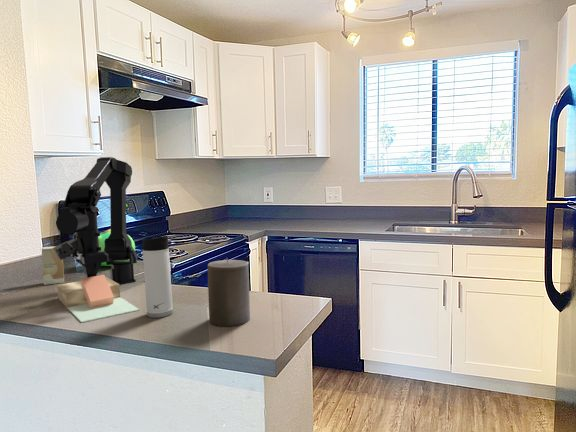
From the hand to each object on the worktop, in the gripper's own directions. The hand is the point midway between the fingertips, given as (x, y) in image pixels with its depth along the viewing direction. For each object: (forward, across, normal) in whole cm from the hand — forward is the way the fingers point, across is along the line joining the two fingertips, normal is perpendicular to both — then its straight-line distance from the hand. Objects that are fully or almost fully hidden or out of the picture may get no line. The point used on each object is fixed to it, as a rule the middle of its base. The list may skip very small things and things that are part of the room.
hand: (90, 284), depth 126 cm
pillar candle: (+5, +41, +21) cm, 47 cm away
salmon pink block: (+1, +5, 0) cm, 5 cm away
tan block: (+5, -4, 0) cm, 6 cm away
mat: (+5, +11, 0) cm, 12 cm away
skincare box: (+5, -34, -4) cm, 34 cm away
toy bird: (+5, -49, +19) cm, 52 cm away
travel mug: (+5, +25, +10) cm, 28 cm away
